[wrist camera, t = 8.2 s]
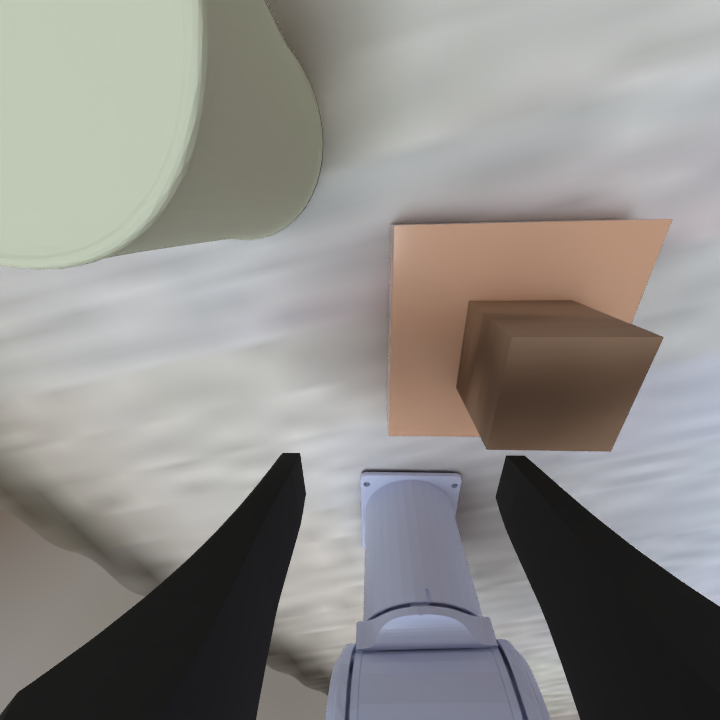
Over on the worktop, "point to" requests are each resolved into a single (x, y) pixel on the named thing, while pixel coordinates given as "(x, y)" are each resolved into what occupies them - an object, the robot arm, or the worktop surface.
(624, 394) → the walnut cube
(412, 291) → the tan rectangular block
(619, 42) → the worktop surface
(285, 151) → the can
